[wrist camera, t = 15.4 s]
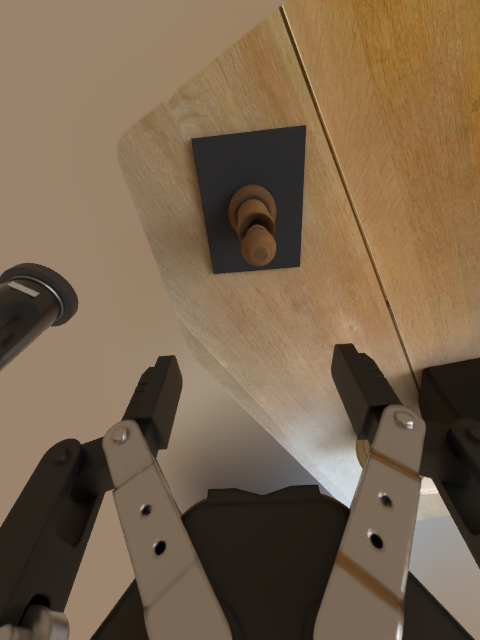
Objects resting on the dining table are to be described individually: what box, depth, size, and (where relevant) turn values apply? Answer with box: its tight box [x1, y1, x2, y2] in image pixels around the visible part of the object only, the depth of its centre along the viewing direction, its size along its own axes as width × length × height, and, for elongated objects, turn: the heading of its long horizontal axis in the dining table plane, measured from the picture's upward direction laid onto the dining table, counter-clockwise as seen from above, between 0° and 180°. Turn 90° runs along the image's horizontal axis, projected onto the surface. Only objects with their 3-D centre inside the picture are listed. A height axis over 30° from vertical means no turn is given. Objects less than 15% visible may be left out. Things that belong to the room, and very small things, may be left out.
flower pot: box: [419, 359, 480, 425], centre depth 49 cm, size 19×19×17 cm
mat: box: [192, 125, 306, 274], centre depth 36 cm, size 14×18×1 cm
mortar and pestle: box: [228, 184, 276, 266], centre depth 28 cm, size 7×6×18 cm
